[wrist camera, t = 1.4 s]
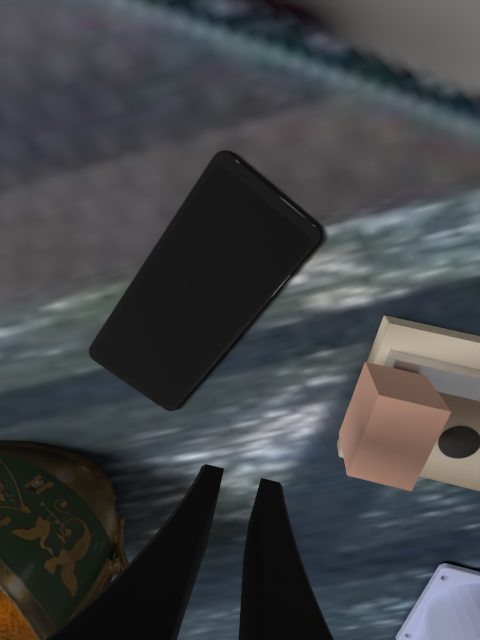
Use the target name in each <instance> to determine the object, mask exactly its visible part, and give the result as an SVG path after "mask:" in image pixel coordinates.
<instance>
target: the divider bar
mask: <svg viewBox="0 0 480 640" xmlns="http://www.w3.org/2000/svg"><path fill="white" fill-rule="evenodd" d="M384 366H386V367H390V368H395V369H399V370H404V371H408V372H412V373H417V374H421V375H426V376H427V378H428V379H429V381H430V382H431V384H432V385H433V386H434V388H435V389H436V391H438V392H442V393H446V394H451V395H455V396H459V397H464V398H468V399H472V400H477V401H480V369H475V368H471V367H467V366H462V365H458V364H453V363H449V362H444V361H440V360H435V359H431V358H427V357H422V356H418V355H413V354H409V353H404V352H400V351H395V350H391V349H390V351H389V353H388V356H387V358H386V361H385V363H384Z"/></svg>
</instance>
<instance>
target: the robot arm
mask: <svg viewBox="0 0 480 640" xmlns="http://www.w3.org/2000/svg"><path fill="white" fill-rule="evenodd" d="M223 471H224V469H223V468H219V467H215V466H211V465H207V464H205V465H203V466H202V467H201V469H200V472H199V474H198V475H197V477H196V479H195V481H194V483H193V484H192V486H191V487H190V489H189V491H188V492H187V494H186V495H185V497H184V498H183V499H182V501H181V502H180V504H179V505H178V506H177V508H176V509H175V511H174V512H173V513H172V515H171V516H170V517H169V519H168V520H167V521H166V522H165V524H164V525H163V526H162V527H161V528H160V530H159V531H158V532H157V533H156V535H155V536H154V537H153V538H152V539H151V541H150V542H149V543H148V544H147V545H146V546H145V547H144V549H143V550H142V551H141V552H140V553H139V554H138V555H137V556H136V557H135V558H134V559H133V561H132V562H131V563H130V564H129V565H128V566H127V567H126V568H125V569H124V570H123V571H122V572H121V573H120V574H119V575H118V576H117V577H116V578H115V579H114V580H113V581H112V582H111V583H110V584H109V585H108V586H107V587H106V588H105V589H104V590H102V591H101V592H100V593H99V594H98V595H97V596H96V597H95V598H94V599H93V600H92V601H91V602H89V603H88V604H87V605H86V606H85V607H84V608H82V609H81V610H80V611H79V612H78V613H77V614H76V615H74V616H73V617H72V618H71V619H70V620H69V621H67V622H66V623H65V624H64V625H63V626H62V627H61V628H59V629H58V630H57V631H56V632H54V633H53V634H52V635H51V636H49V637H48V638H47V639H46V640H177V637H178V634H179V631H180V627H181V624H182V621H183V618H184V614H185V611H186V608H187V605H188V602H189V599H190V596H191V593H192V590H193V587H194V583H195V580H196V577H197V574H198V571H199V568H200V565H201V562H202V559H203V555H204V552H205V549H206V546H207V542H208V537H209V533H210V529H211V524H212V520H213V516H214V511H215V507H216V502H217V498H218V493H219V489H220V484H221V480H222V475H223ZM239 640H334V639H333V637H332V635H331V633H330V631H329V628H328V626H327V624H326V622H325V619H324V617H323V615H322V613H321V610H320V608H319V606H318V603H317V601H316V598H315V596H314V593H313V591H312V588H311V586H310V583H309V580H308V577H307V575H306V572H305V569H304V566H303V563H302V561H301V558H300V555H299V551H298V548H297V545H296V542H295V539H294V535H293V532H292V528H291V525H290V521H289V517H288V513H287V509H286V505H285V500H284V495H283V488H282V485H281V484H280V483H279V482H275V481H271V480H267V479H263V478H261V481H260V484H259V488H258V492H257V495H256V499H255V502H254V506H253V510H252V513H251V517H250V520H249V525H248V532H247V538H246V545H245V552H244V561H243V577H242V594H241V611H240V627H239ZM396 640H480V572H478V571H475V570H471V569H467V568H463V567H459V566H455V565H451V564H447V563H444V564H441V565H439V566H438V568H437V570H436V571H435V573H434V575H433V576H432V578H431V580H430V581H429V583H428V585H427V586H426V588H425V589H424V591H423V593H422V594H421V596H420V598H419V599H418V601H417V603H416V604H415V606H414V608H413V609H412V611H411V613H410V614H409V616H408V617H407V619H406V621H405V622H404V624H403V626H402V627H401V629H400V631H399V632H398V634H397V636H396Z"/></svg>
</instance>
